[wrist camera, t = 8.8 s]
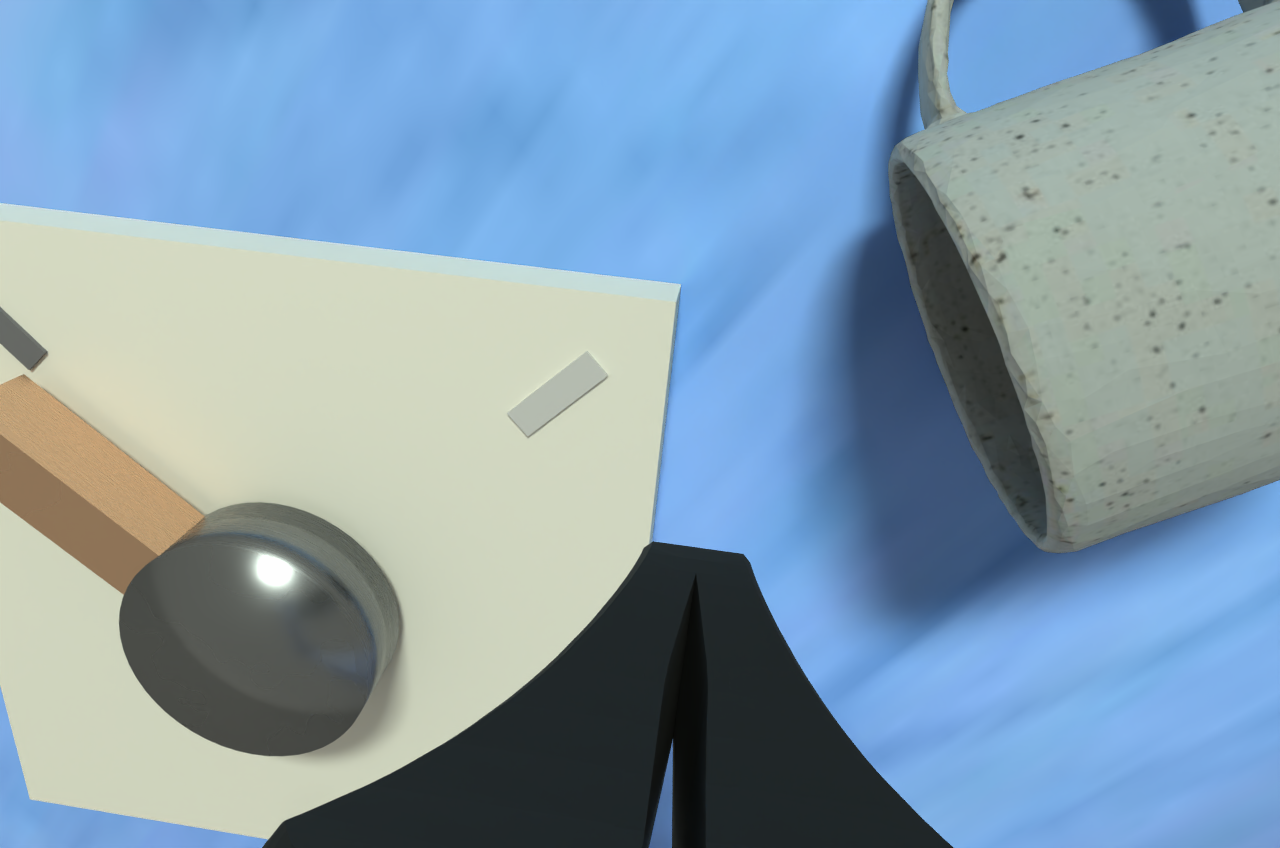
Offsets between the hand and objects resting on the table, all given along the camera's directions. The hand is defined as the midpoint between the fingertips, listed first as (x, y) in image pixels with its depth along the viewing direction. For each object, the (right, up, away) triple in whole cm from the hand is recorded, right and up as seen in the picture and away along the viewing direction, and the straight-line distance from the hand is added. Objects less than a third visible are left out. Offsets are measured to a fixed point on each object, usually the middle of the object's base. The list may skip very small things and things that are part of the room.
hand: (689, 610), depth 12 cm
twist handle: (-11, 0, +10) cm, 15 cm away
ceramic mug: (+8, +8, +6) cm, 13 cm away
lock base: (-9, -1, +12) cm, 15 cm away
